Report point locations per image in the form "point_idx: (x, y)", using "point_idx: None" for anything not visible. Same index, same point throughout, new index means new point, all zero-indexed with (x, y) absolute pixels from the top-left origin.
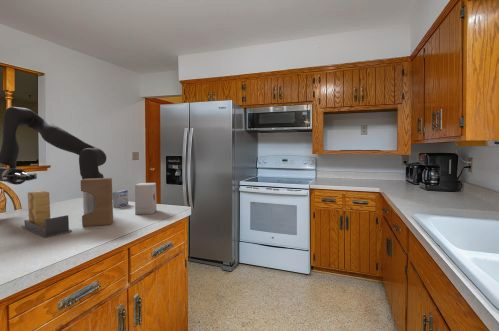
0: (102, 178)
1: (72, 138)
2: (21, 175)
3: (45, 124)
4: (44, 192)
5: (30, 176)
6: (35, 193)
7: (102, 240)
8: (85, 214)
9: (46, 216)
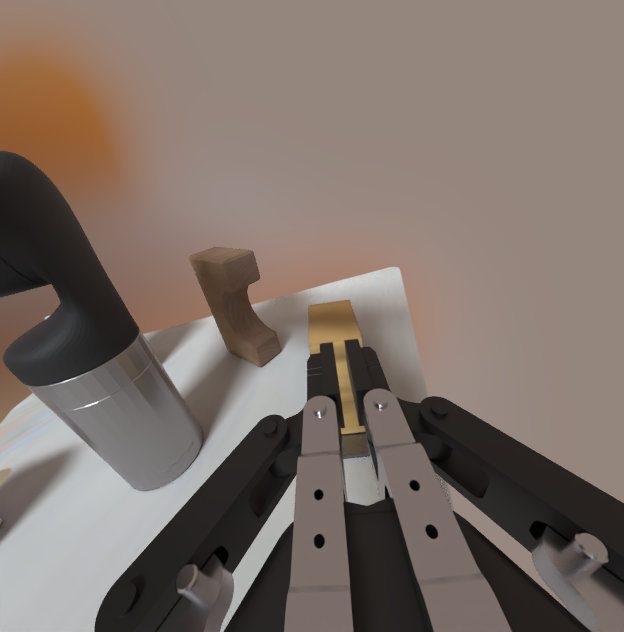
0: (207, 254)
1: None
2: (372, 391)
3: None
4: (319, 309)
5: (313, 354)
6: (345, 305)
7: (303, 294)
8: (267, 332)
9: None
